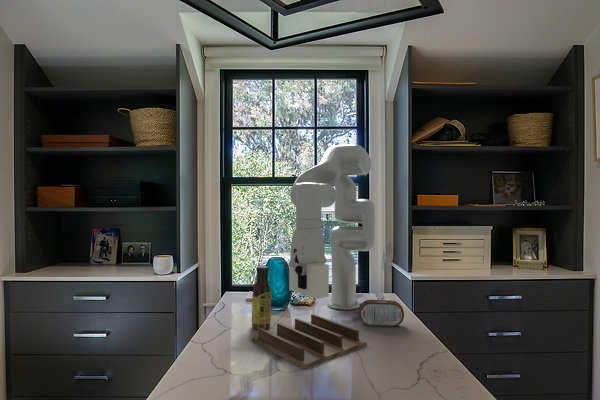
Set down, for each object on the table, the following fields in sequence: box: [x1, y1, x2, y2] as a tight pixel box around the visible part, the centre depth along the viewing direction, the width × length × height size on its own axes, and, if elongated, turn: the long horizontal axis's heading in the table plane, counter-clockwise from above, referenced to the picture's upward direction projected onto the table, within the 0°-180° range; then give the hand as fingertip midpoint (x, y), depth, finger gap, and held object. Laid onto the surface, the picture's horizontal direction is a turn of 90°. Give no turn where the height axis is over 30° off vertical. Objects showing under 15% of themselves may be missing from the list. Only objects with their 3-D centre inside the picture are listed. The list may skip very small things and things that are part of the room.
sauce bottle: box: [251, 265, 272, 330], centre depth 123 cm, size 6×6×20 cm
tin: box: [357, 299, 405, 328], centre depth 125 cm, size 15×3×8 cm, turn 84°
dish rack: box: [250, 313, 368, 370], centre depth 110 cm, size 24×24×4 cm
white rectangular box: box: [288, 259, 330, 300], centre depth 109 cm, size 4×13×9 cm, turn 40°
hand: (308, 286), depth 110 cm, fingers closed on white rectangular box, 4 cm apart
